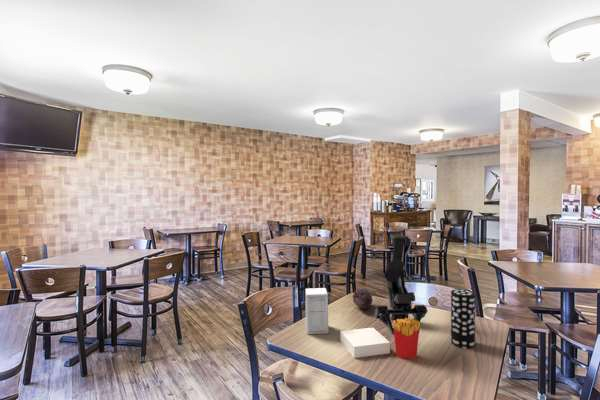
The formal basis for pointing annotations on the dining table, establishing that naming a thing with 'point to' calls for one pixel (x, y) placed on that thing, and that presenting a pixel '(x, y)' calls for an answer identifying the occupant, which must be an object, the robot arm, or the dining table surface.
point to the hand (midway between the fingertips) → (405, 334)
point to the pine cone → (362, 298)
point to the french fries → (406, 337)
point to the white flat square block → (364, 342)
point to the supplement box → (316, 311)
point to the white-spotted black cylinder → (463, 318)
